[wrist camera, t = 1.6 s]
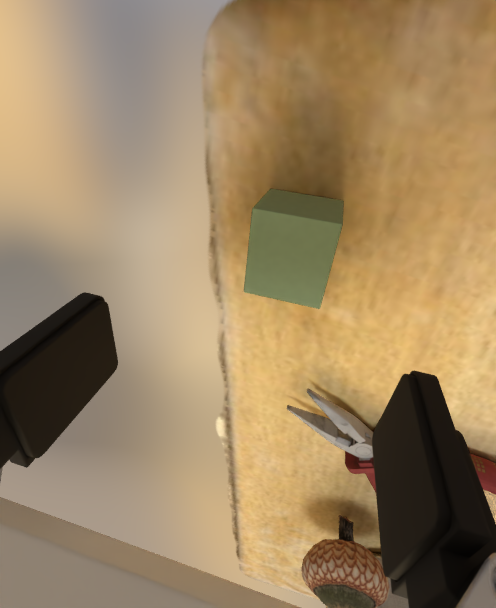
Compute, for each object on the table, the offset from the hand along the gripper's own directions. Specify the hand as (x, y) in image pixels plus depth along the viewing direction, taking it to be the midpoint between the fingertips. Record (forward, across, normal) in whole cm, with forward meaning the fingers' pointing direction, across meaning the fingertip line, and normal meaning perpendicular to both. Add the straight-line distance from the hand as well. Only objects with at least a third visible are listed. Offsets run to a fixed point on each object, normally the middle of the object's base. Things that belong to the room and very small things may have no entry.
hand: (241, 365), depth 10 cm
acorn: (+13, -12, +32) cm, 36 cm away
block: (+13, 0, 0) cm, 13 cm away
